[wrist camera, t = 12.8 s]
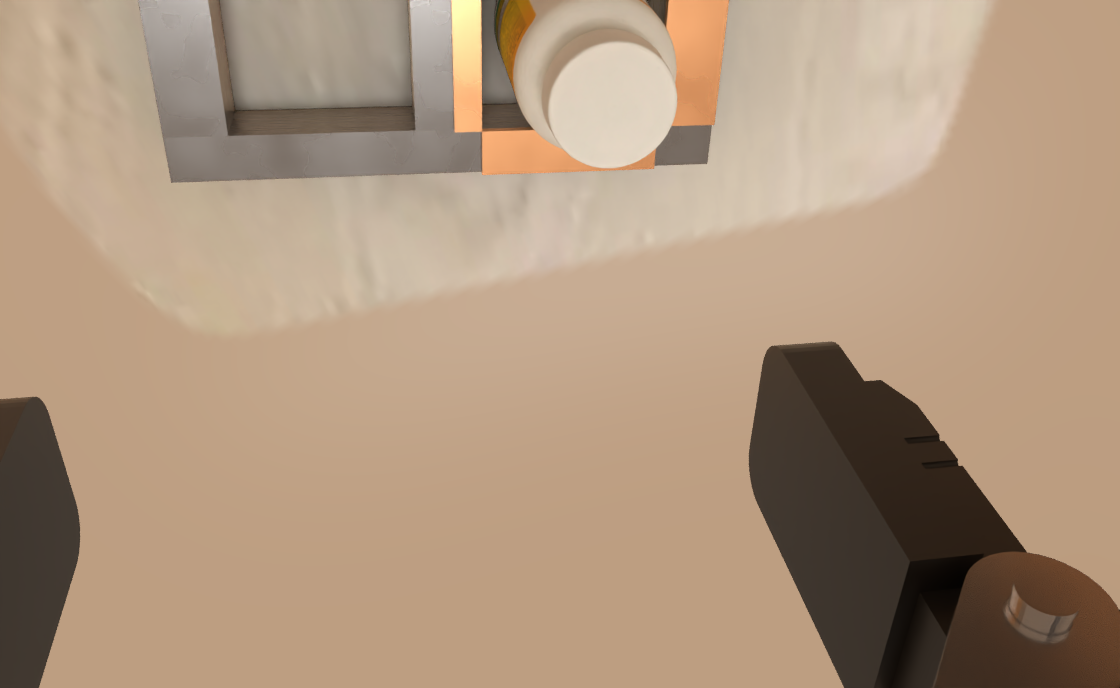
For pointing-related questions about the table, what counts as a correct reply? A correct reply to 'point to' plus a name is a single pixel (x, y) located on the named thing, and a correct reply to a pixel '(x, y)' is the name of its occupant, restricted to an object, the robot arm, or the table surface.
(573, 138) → the supplement bottle
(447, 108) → the tray
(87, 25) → the table surface
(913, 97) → the table surface
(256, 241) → the table surface
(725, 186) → the table surface
